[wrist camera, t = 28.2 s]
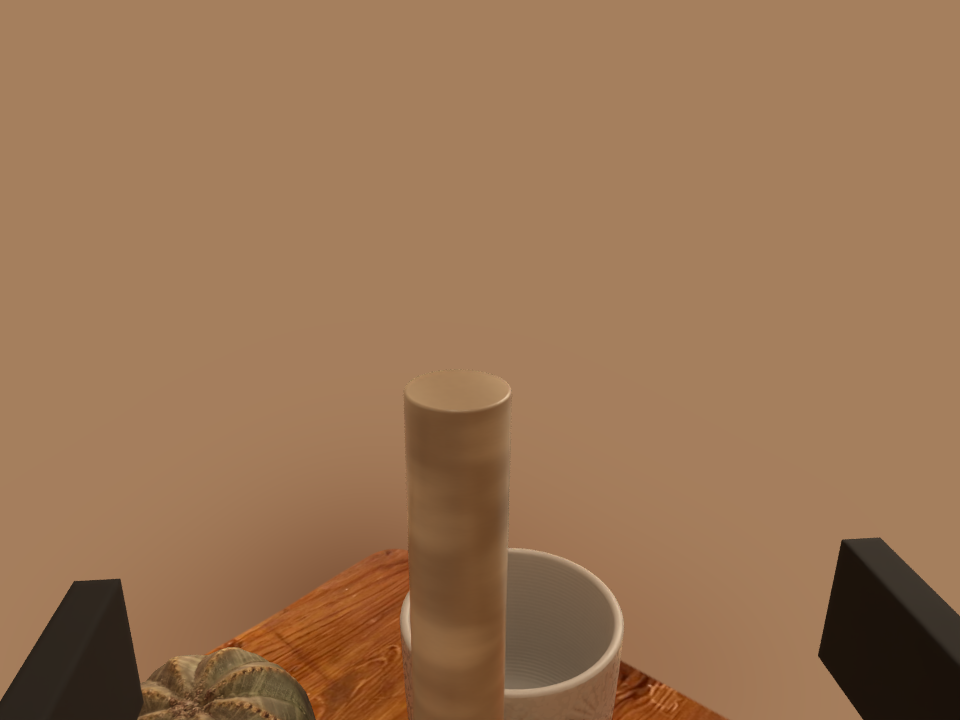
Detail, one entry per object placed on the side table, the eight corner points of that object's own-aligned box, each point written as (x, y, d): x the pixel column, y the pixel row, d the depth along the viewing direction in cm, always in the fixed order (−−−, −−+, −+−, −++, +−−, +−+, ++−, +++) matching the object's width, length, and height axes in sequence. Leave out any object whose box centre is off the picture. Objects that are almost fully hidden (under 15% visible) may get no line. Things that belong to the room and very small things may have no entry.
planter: (514, 903, 39) (519, 739, 35) (363, 758, 47) (354, 610, 43) (651, 758, 47) (668, 611, 44) (503, 655, 56) (505, 523, 52)
